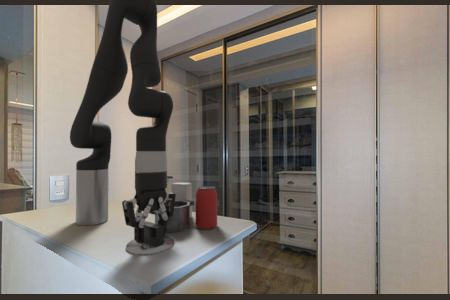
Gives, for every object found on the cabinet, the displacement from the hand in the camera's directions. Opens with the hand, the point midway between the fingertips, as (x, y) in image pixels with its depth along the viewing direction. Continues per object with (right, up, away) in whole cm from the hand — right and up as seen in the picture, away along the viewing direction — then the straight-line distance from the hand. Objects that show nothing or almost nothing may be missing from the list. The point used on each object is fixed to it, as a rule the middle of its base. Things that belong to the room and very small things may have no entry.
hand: (151, 238), depth 56 cm
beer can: (+12, -2, +14) cm, 19 cm away
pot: (+2, -2, +13) cm, 13 cm away
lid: (0, -2, 0) cm, 2 cm away
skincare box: (+3, -2, +24) cm, 24 cm away
